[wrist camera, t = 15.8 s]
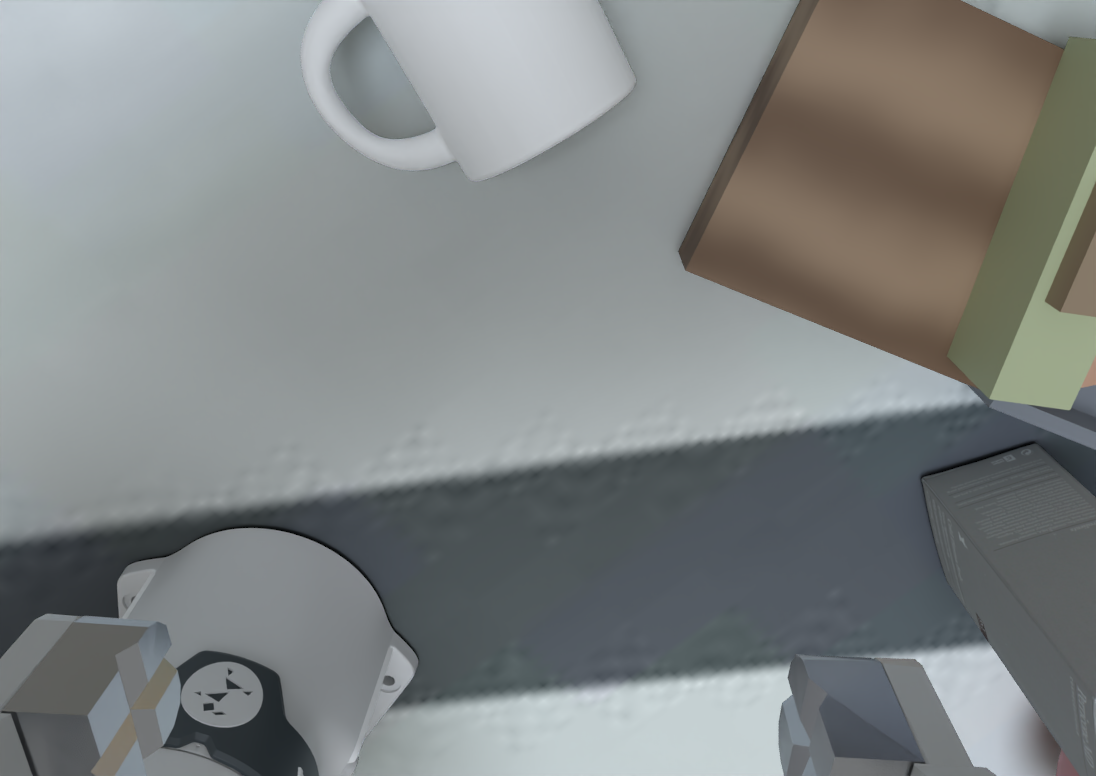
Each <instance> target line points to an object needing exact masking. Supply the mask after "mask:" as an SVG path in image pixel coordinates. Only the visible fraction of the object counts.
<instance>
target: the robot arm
mask: <svg viewBox="0 0 1096 776" xmlns="http://www.w3.org/2000/svg"><path fill="white" fill-rule="evenodd" d="M117 595H118V610H119V618H107V617H94V616H84V617H81V616H70V615H58V614H45V615H43V616H41V617H39V618H37V619H35V620H34V621H33V622H32V623H31V624H30V625H29V626H28V628H27V629H26V630H25V631H24V632H23V633H22V634H21V636H20V637H19V638H18V639H17V640H16V641H15V642H14V643H13V645H12V646H11V647H10V648H9V649H8V650H7V651H6V653H5V654H4V655H3V656H2V657H1V658H0V776H352V774H353V772H354V770H355V768H356V766H357V763H358V759H359V757H358V755H359V752H360V750H361V747H362V744H363V741H364V740H365V738H366V737H367V736H368V735H369V733H370V732H371V731H372V729H373V728H374V727H375V726H376V724H377V723H378V722H379V721H380V719H381V718H382V717H383V716H384V714H385V713H386V712H387V710H388V709H389V708H390V707H391V705H392V704H393V703H394V702H395V700H396V699H397V698H398V696H399V695H400V694H401V693H402V691H403V690H404V689H405V688H406V686H407V685H408V684H409V683H410V681H411V680H412V678H413V677H414V674H415V672H416V669H417V666H418V658H417V656H416V654H415V653H414V652H413V650H412V649H411V648H410V647H409V646H408V645H407V644H406V643H405V641H404V640H403V639H402V638H401V637H399V636H398V635H397V634H396V633H395V632H394V630H393V629H392V627H391V625H390V623H389V621H388V619H387V616H386V613H385V611H384V608H383V606H382V603H381V601H380V599H379V597H378V595H377V594H376V592H375V590H374V589H373V587H372V586H371V585H370V583H369V582H368V581H367V580H366V578H365V577H364V576H363V575H362V574H361V573H360V572H359V571H358V570H357V569H356V568H355V567H354V566H353V565H351V564H350V563H349V562H348V561H346V560H345V559H344V558H342V557H341V556H340V555H338V554H337V553H335V552H333V551H332V550H330V549H328V548H326V547H325V546H323V545H321V544H319V543H316V542H314V541H312V540H309V539H307V538H304V537H301V536H298V535H295V534H291V533H287V532H283V531H278V530H272V529H262V528H239V529H230V530H225V531H220V532H216V533H213V534H210V535H207V536H204V537H202V538H200V539H198V540H196V541H194V542H192V543H191V544H189V545H187V546H186V547H184V548H183V549H181V550H180V551H178V552H176V553H174V554H173V555H170V556H168V557H164V558H156V559H149V560H144V561H139V562H135V563H132V564H130V565H128V566H127V567H126V568H125V569H124V571H123V573H122V574H121V576H120V578H119V579H118V582H117ZM388 676H391V677H388ZM788 680H789V684H790V687H791V691H792V694H793V695H791V696H790V697H789V698H788V699H787V700H785V701H784V702H783V703H782V707H781V713H780V718H779V752H780V759H781V764H782V769H783V773H784V776H996V775H995V774H994V773H992V772H991V771H990V770H988V769H987V768H983V767H974V766H973V764H972V762H971V760H970V758H969V757H968V755H967V753H966V751H965V749H964V747H963V745H962V743H961V741H960V739H959V737H958V735H957V733H956V731H955V729H954V727H953V725H952V723H951V721H950V719H949V717H948V715H947V713H946V711H945V709H944V707H943V706H942V704H941V702H940V700H939V698H938V696H937V694H936V692H935V690H934V688H933V686H932V684H931V682H930V680H929V678H928V676H927V674H926V672H925V670H924V668H923V666H922V665H921V664H920V663H919V662H917V661H916V660H915V659H893V658H874V659H872V658H860V657H838V656H815V655H795V657H794V659H793V660H792V662H791V665H790V670H789V674H788Z"/></svg>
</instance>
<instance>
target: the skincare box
mask: <svg viewBox="0 0 1096 776" xmlns="http://www.w3.org/2000/svg"><path fill="white" fill-rule="evenodd" d="M921 480H922V483H923V487H924V493H925V498H926V504H927V509H928V513H929V518H930V522H931V527H932V531H933V535H934V539H935V543H936V547H937V551H938V554H939V558H940V561H941V564H942V567H943V570H944V574H945V577H946V579H947V582H948V584H949V585H950V586H951V588H952V589H953V591H954V592H955V594H956V595H957V597H958V598H959V600H960V601H961V603H962V604H963V605H964V607H965V608H966V610H967V611H968V613H969V614H970V615H971V617H972V618H973V620H974V621H975V623H976V624H977V626H978V627H979V629H980V630H981V632H982V633H983V635H984V636H985V638H986V639H987V641H988V642H989V643H990V645H991V646H992V648H993V649H994V651H995V652H996V653H997V655H998V656H999V658H1000V659H1001V661H1002V662H1003V664H1004V665H1005V667H1006V668H1007V670H1008V671H1009V673H1010V674H1011V676H1012V677H1013V679H1014V680H1015V682H1016V683H1017V685H1018V686H1019V687H1020V689H1021V690H1022V692H1023V693H1024V695H1025V696H1026V698H1027V699H1028V701H1029V702H1030V703H1031V705H1032V706H1033V708H1034V709H1035V711H1036V712H1037V714H1038V715H1039V717H1040V718H1041V720H1042V721H1043V723H1044V724H1045V726H1046V727H1047V729H1048V730H1049V731H1050V733H1051V734H1052V736H1053V737H1054V739H1055V740H1056V742H1057V743H1058V745H1059V746H1060V747H1061V749H1062V750H1063V752H1064V753H1065V755H1066V756H1067V758H1068V759H1069V761H1070V762H1071V764H1072V765H1073V767H1074V768H1075V770H1076V771H1077V773H1078V774H1079V776H1096V497H1095V496H1094V495H1092V494H1091V493H1090V492H1089V491H1088V490H1087V489H1086V488H1085V487H1084V486H1083V485H1082V484H1080V483H1079V482H1078V481H1077V480H1076V479H1075V478H1074V477H1073V476H1072V475H1071V474H1070V473H1069V472H1068V471H1066V470H1065V469H1064V468H1063V467H1062V466H1061V465H1060V464H1059V463H1058V462H1057V461H1056V460H1055V459H1054V458H1053V457H1052V456H1050V455H1049V454H1048V453H1047V452H1046V451H1045V450H1044V449H1043V448H1042V447H1041V446H1040V445H1039V444H1032V445H1028V446H1025V447H1021V448H1018V449H1015V450H1011V451H1008V452H1005V453H1002V454H999V455H996V456H993V457H990V458H987V459H984V460H981V461H978V462H975V463H971V464H968V465H964V466H961V467H958V468H954V469H951V470H948V471H945V472H941V473H938V474H933V475H929V476H925V477H923V478H922V479H921Z"/></svg>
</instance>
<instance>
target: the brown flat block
mask: <svg viewBox="0 0 1096 776" xmlns="http://www.w3.org/2000/svg"><path fill="white" fill-rule="evenodd" d="M1063 52H1064V49H1062V48H1060V47H1058V46H1056V45H1054V44H1052V43H1049V42H1047V41H1045V40H1043V39H1041V38H1039V37H1037V36H1035V35H1033V34H1030V33H1028V32H1026V31H1024V30H1022V29H1020V28H1018V27H1016V26H1014V25H1012V24H1009V23H1007V22H1005V21H1003V20H1001V19H999V18H997V17H995V16H993V15H990V14H988V13H986V12H984V11H982V10H980V9H978V8H976V7H974V6H971V5H969V4H967V3H965V2H963V1H961V0H800V2H799V4H798V6H797V8H796V10H795V12H794V14H793V16H792V19H791V21H790V23H789V25H788V27H787V29H786V31H785V33H784V35H783V37H782V39H781V41H780V43H779V45H778V47H777V49H776V52H775V54H774V56H773V58H772V60H771V62H770V64H769V66H768V68H767V70H766V72H765V74H764V76H763V78H762V80H761V82H760V84H759V87H758V89H757V91H756V93H755V95H754V97H753V99H752V101H751V103H750V105H749V107H748V109H747V111H746V113H745V115H744V117H743V119H742V122H741V124H740V126H739V128H738V130H737V132H736V134H735V136H734V138H733V140H732V142H731V144H730V146H729V148H728V150H727V152H726V155H725V157H724V159H723V161H722V163H721V165H720V167H719V169H718V171H717V173H716V175H715V177H714V179H713V181H712V183H711V185H710V187H709V190H708V192H707V194H706V196H705V198H704V200H703V202H702V204H701V206H700V208H699V210H698V212H697V214H696V216H695V218H694V220H693V222H692V225H691V227H690V229H689V231H688V233H687V235H686V237H685V239H684V241H683V243H682V245H681V247H680V249H679V251H678V252H679V254H680V257H681V260H682V263H683V265H684V268H685V271H688V272H690V273H693V274H695V275H698V276H700V277H703V278H705V279H708V280H710V281H713V282H715V283H718V284H720V285H723V286H725V287H728V288H730V289H732V290H735V291H737V292H740V293H742V294H745V295H747V296H750V297H752V298H755V299H757V300H760V301H762V302H765V303H767V304H770V305H772V306H775V307H777V308H779V309H782V310H784V311H787V312H789V313H792V314H794V315H797V316H799V317H802V318H804V319H807V320H809V321H812V322H814V323H817V324H819V325H822V326H824V327H827V328H829V329H831V330H834V331H836V332H839V333H841V334H844V335H846V336H849V337H851V338H854V339H856V340H859V341H861V342H864V343H866V344H869V345H871V346H874V347H876V348H878V349H881V350H883V351H886V352H888V353H891V354H893V355H896V356H898V357H901V358H903V359H906V360H908V361H911V362H913V363H916V364H918V365H921V366H923V367H926V368H928V369H930V370H933V371H935V372H938V373H940V374H943V375H945V376H948V377H950V378H953V379H955V380H958V381H960V382H963V383H965V384H968V385H970V386H973V387H975V388H977V389H979V388H978V387H977V386H976V385H975V384H974V383H973V382H972V381H971V380H970V379H969V378H968V377H967V376H966V375H965V374H964V373H963V372H962V371H961V370H960V369H959V368H958V367H957V366H956V365H955V364H954V363H953V362H952V361H951V360H950V359H949V358H948V357H947V354H948V352H949V349H950V346H951V344H952V341H953V339H954V336H955V333H956V331H957V328H958V325H959V323H960V320H961V318H962V315H963V312H964V310H965V307H966V305H967V302H968V299H969V297H970V294H971V292H972V289H973V286H974V284H975V281H976V279H977V276H978V273H979V271H980V268H981V266H982V263H983V260H984V258H985V255H986V253H987V250H988V247H989V245H990V242H991V240H992V237H993V234H994V232H995V229H996V227H997V224H998V221H999V219H1000V216H1001V213H1002V211H1003V208H1004V206H1005V203H1006V200H1007V198H1008V195H1009V193H1010V190H1011V187H1012V185H1013V182H1014V180H1015V177H1016V174H1017V172H1018V169H1019V167H1020V164H1021V161H1022V159H1023V156H1024V154H1025V151H1026V148H1027V146H1028V143H1029V141H1030V138H1031V135H1032V133H1033V130H1034V128H1035V125H1036V122H1037V120H1038V117H1039V115H1040V112H1041V109H1042V107H1043V104H1044V101H1045V99H1046V96H1047V94H1048V91H1049V88H1050V86H1051V83H1052V81H1053V78H1054V75H1055V73H1056V70H1057V68H1058V65H1059V62H1060V60H1061V57H1062V55H1063Z"/></svg>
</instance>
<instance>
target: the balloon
mask: <svg viewBox="0 0 1096 776" xmlns="http://www.w3.org/2000/svg"><path fill="white" fill-rule="evenodd" d="M1056 776H1079V774H1078V773H1077V771H1076V770H1075V768H1074V767H1073V765H1072V764H1071V762H1070V761H1069V759H1068V758H1067V756H1066V755H1065V753H1064V752H1063V750H1062V749H1061V752H1060V756H1059V760H1058V765H1057V773H1056Z"/></svg>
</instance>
